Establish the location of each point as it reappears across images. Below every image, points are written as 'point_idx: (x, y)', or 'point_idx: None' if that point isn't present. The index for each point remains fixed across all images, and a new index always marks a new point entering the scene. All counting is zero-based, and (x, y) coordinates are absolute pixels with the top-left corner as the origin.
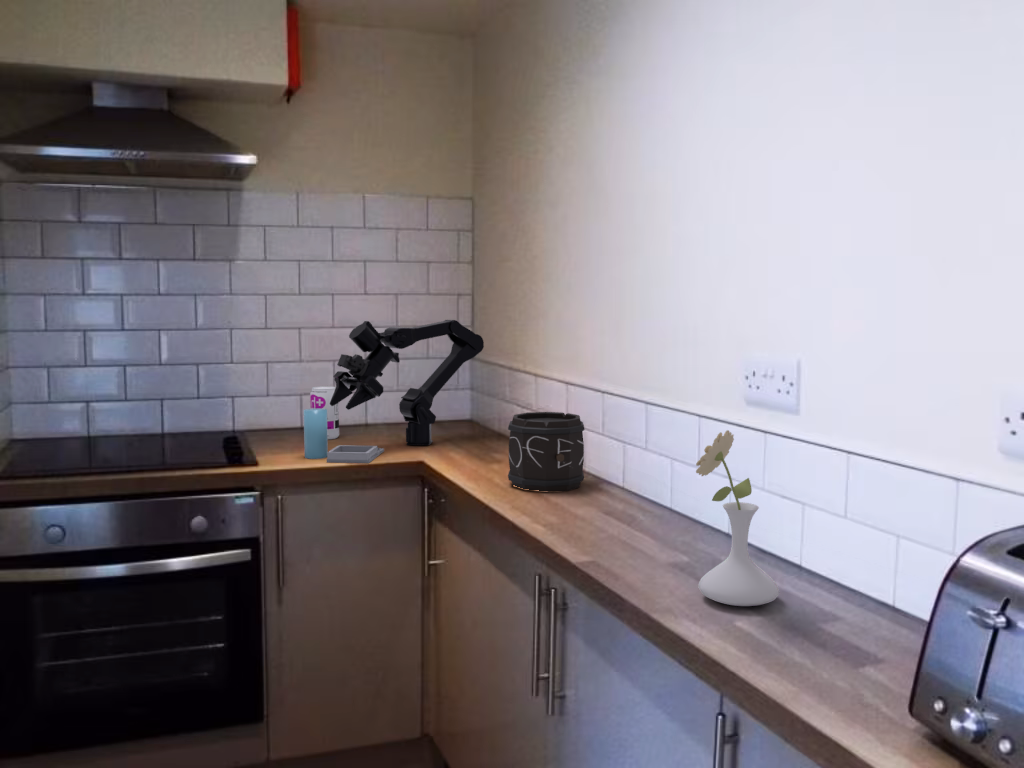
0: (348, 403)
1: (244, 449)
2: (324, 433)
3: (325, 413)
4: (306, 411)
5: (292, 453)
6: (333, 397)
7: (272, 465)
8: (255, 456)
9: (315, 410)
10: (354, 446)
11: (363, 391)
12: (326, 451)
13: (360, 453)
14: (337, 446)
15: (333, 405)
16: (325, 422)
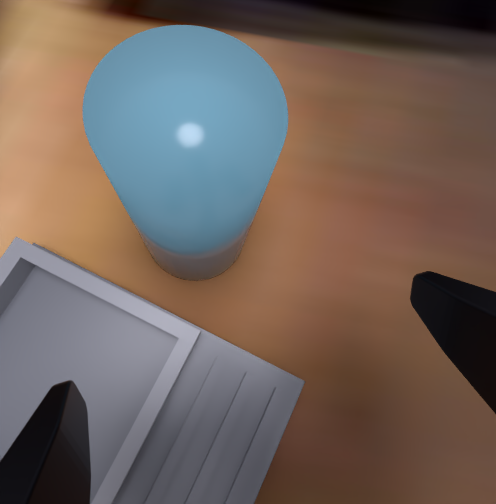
0: (34, 423)
1: (437, 33)
2: (137, 228)
3: (122, 190)
4: (141, 36)
5: (306, 161)
6: (476, 306)
7: (80, 53)
8: (287, 38)
9: (145, 101)
10: (141, 409)
11: None
12: (161, 264)
13: None
14: (165, 318)
15: (417, 312)
16: (132, 214)
